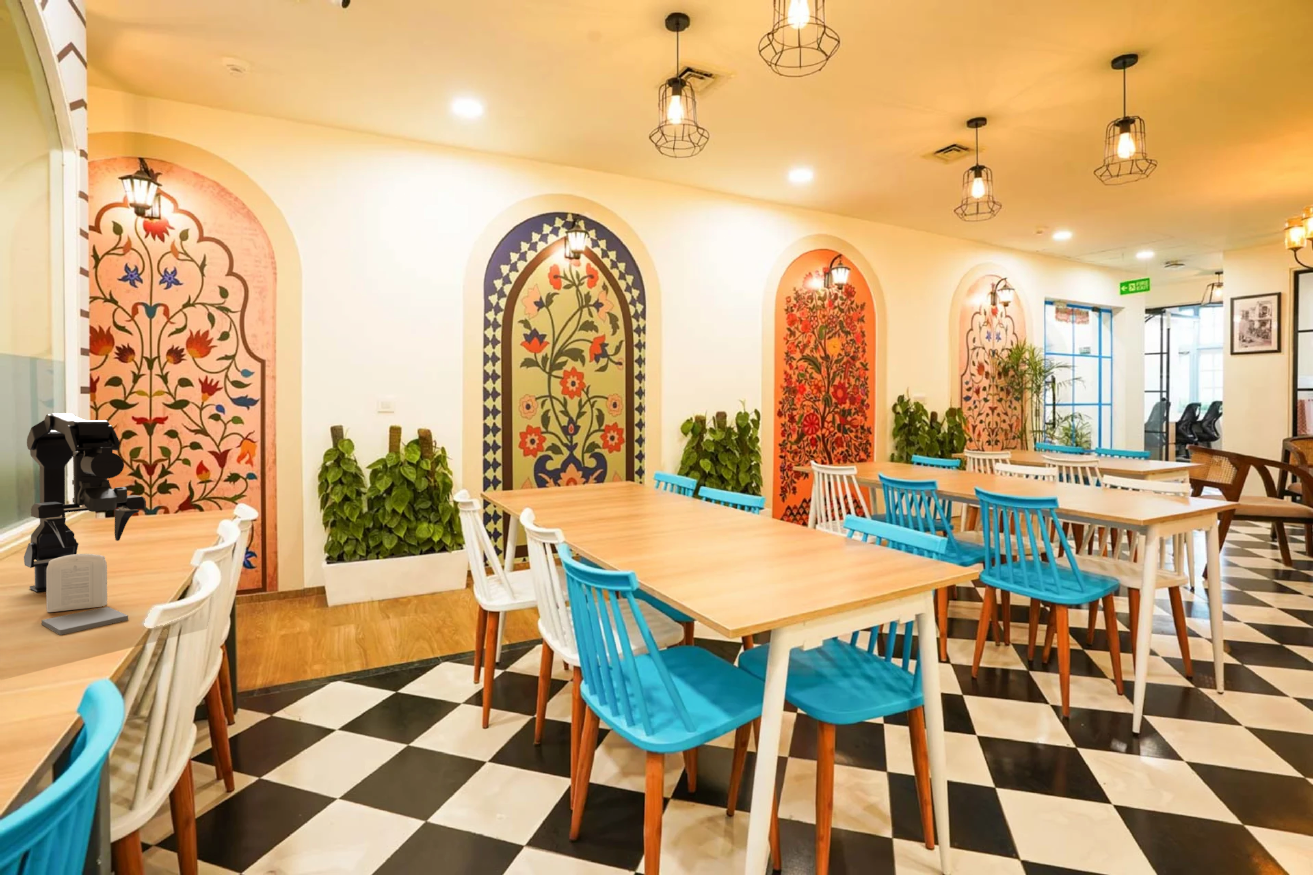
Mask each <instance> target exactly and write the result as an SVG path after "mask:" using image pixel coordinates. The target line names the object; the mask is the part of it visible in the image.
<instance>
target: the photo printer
mask: <svg viewBox="0 0 1313 875" xmlns="http://www.w3.org/2000/svg"><path fill="white" fill-rule="evenodd" d="M107 563H108V562H107V560H106V557H105V555H101V554H95V553H77V554H73V555H67V556H62V557H59V558H55V559H52V560H50V561H49V563H48V566H47V570H46V591H45V593H46V594H45V596H46V613H54V612H56V613H57V612H64V611H66V612H67V611H72V610H73V611H75V610H82V609H90V608H91V609H93V608H103V607H106V606H107V605H108V565H107ZM102 606H103V607H102Z"/></svg>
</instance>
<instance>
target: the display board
mask: <svg viewBox="0 0 1313 875" xmlns="http://www.w3.org/2000/svg"><path fill="white" fill-rule="evenodd" d="M126 620H127V621H129V615H128V614H125V613H123V612H121V611H119V610H117V609H115V608H112V607H111V606H103V607H98V608H95V609H89V610H85V611H80V612H75V613H70V614H64V615H60V616H55V617H50V618H45V619H41V625H42V626H43V627H45V628H46V629H48V628H49V630H50V631H51V632H53V633H56V634H57V635H59V636H61V635H62V636H63V635H67V634H72V633H76V632H80V631H86V630H90V629H94V628H99V627H103V626H107V625H111V624H112V623H113V624H116V623H117V624H118V623H121V622H120V621H122V622H127V621H126ZM89 628H90V629H89Z"/></svg>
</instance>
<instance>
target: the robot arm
mask: <svg viewBox="0 0 1313 875" xmlns="http://www.w3.org/2000/svg"><path fill="white" fill-rule="evenodd" d="M28 432H29V433H28V435H27V438H26V447H27V449H28V450H29V455H30V457H31V458H32V459H33V460H34V461H35V463H36V464H37V465H38V467H39V502H35V503H34V504H32V505H31V507H30V516H31V517H32V518H35V519H39V524H38V526H37V527H36V528H35V529H34V530H33V532H32V533H31V534H30V542H29V543H28V544H27V547H26V550H25V553H24V556H23V562H24V566H25V567H28V568H29V569H32V568H33V569H34V585H30V586H29V589H30V590H33V591H34V592H36V593H41V592H46V570H47V566H48V563H49V561H50V560H52V559H55V558H59V557H62V556H67V555H73V554H78V547H79V544H80V543H79V542H77V539H76V537H75V533H74V531H73V530H71V529H70V527H69V526H68V525H67V524H66V513H74V512H75V513H77V512H86V511H89V512H93V513H95V512H99V511H108V510H109V511H114V540H115V541H116V542H119V541H120V540H121V537H122V535H123V532H124V530H125V529H126V525H128V524H127V523H128V522H129V520H130V518H132V516H133V515H134V514H137V513H138V514H139V512H140V510H141V509H147V500H146V498H145V497H144V496H142V495H141V496H140V495H136V494H134V495H133V494H131V495H128V489H127V487H126V486H117V487H114V488H112V487H111V485H110V480H109V479H113V478H115V477H118V476H119V475H121V473H122V472H123V470H124V469H125V462H124V460H123V458H122V457H121V456H119V454H116V453H115V452H114V451H119V450H120V445H121V441H120V439H119V437H118V435H117V432H116V430H115V429H114V426H113V425H111V423H110V422H109V421H108V420H105V419H103V420H101V419H100V420H99V419H98V420H97V419H96V420H94V419H93V420H91V419H90V420H87V419H85V418H81V417H80V416H76V414H74V413H71V412H69V413H68V412H66V413H65V412H63V413H59V412H57V413H56V412H54V413H53V412H51V413H48V414H46V415H45V417H44V419H43V420H42V421H39V422H38V423H37V424H34V425H32V426H31V428H30V430H29V431H28ZM71 460H72V465H73V466H72V468H73V472H72V473H73V474H72V475H73V479H72V480H71V481H72V482H71V484H72V485H73V498H72V503H66V466H67V464H68V463H69V462H70V461H71Z"/></svg>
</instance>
